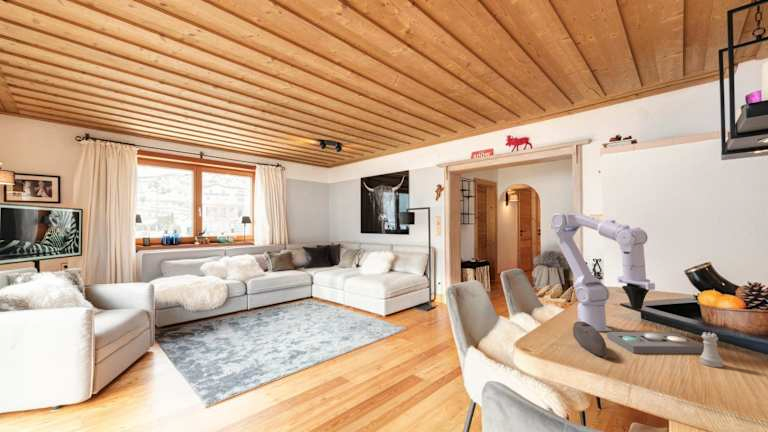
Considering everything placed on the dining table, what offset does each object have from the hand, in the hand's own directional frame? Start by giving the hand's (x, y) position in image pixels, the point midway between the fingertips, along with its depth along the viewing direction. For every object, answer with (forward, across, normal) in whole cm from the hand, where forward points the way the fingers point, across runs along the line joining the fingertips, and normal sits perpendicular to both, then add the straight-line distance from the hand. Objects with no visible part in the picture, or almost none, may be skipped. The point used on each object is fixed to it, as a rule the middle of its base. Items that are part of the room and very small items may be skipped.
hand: (636, 308), depth 102 cm
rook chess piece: (+11, -17, -7) cm, 21 cm away
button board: (+10, -3, -2) cm, 11 cm away
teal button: (+10, -3, +4) cm, 11 cm away
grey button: (+9, -3, -2) cm, 9 cm away
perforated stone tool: (+11, -7, +18) cm, 22 cm away
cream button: (+10, -3, -9) cm, 13 cm away
